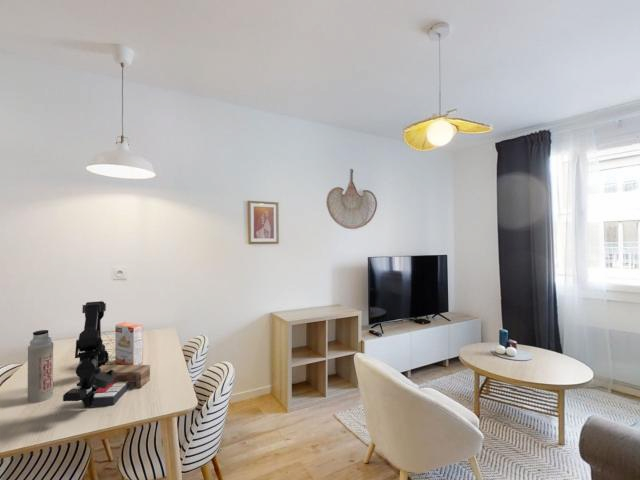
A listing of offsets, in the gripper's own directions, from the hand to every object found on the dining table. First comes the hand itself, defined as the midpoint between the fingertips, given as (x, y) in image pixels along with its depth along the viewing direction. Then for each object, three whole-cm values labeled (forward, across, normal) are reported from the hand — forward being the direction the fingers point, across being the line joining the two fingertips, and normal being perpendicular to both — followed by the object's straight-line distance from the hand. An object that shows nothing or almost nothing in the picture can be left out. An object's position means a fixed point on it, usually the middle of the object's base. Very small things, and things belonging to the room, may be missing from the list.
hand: (88, 407), depth 123 cm
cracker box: (+1, +45, +10) cm, 46 cm away
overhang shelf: (+1, +21, 0) cm, 21 cm away
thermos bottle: (+1, +9, +26) cm, 28 cm away
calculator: (+2, +10, -1) cm, 10 cm away
